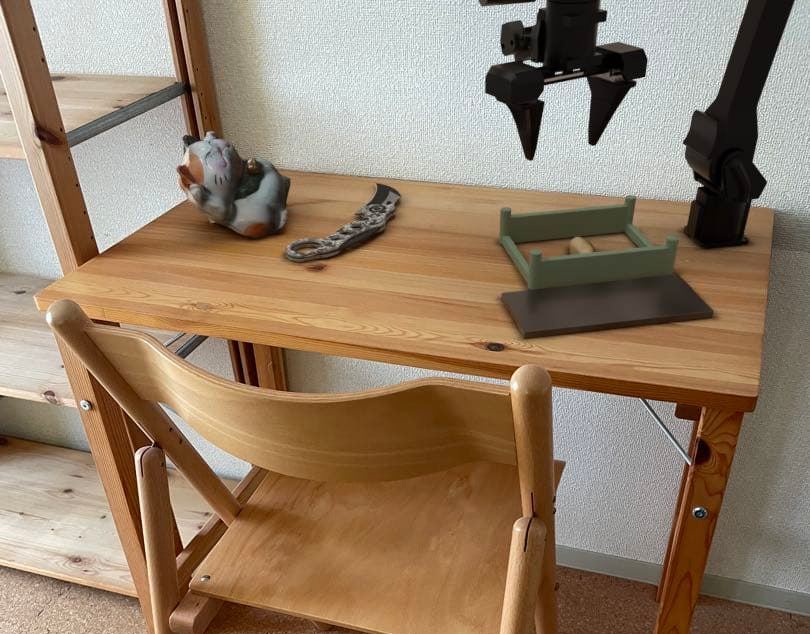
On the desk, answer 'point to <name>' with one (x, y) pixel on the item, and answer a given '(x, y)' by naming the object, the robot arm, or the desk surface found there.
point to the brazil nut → (580, 246)
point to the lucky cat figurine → (233, 187)
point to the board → (604, 305)
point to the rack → (584, 265)
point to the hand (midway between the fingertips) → (561, 152)
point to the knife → (350, 228)
